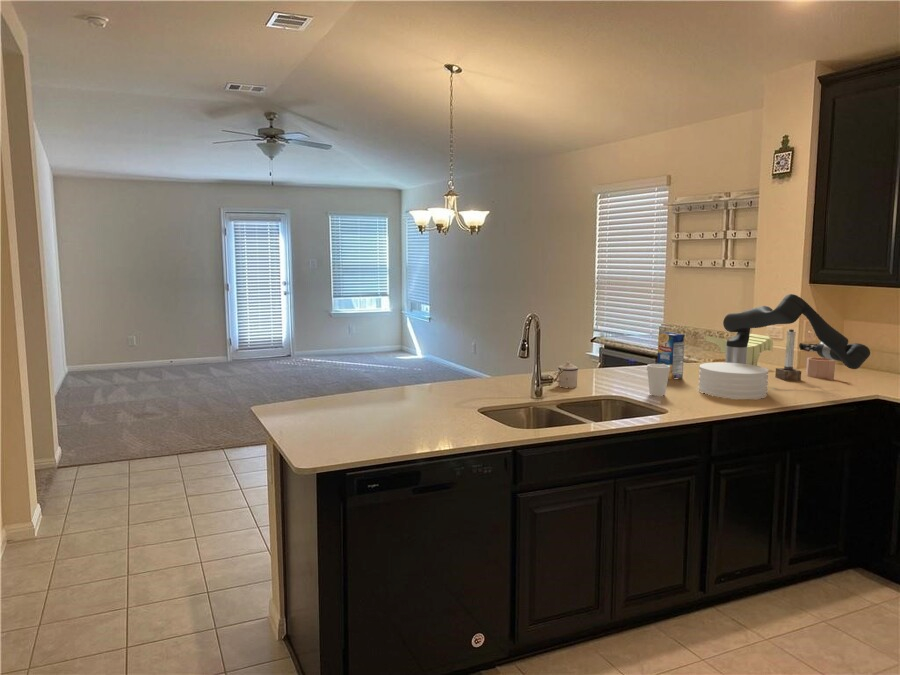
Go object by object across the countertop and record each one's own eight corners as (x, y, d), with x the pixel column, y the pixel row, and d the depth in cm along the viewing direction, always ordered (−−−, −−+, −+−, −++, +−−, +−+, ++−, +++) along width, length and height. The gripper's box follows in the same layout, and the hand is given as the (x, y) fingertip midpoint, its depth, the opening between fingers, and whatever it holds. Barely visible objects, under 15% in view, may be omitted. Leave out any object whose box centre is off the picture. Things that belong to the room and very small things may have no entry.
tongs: (783, 378, 308) (787, 329, 305) (788, 378, 308) (792, 329, 305) (787, 379, 305) (790, 329, 302) (792, 379, 305) (795, 329, 302)
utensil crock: (808, 380, 311) (810, 360, 310) (804, 376, 322) (806, 356, 320) (835, 381, 307) (836, 361, 306) (830, 377, 318) (831, 357, 316)
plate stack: (760, 388, 292) (762, 364, 291) (772, 402, 266) (774, 375, 264) (695, 385, 300) (696, 361, 299) (701, 397, 273) (702, 371, 272)
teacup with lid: (570, 383, 301) (571, 359, 299) (581, 387, 293) (582, 362, 291) (548, 385, 296) (549, 361, 295) (559, 389, 288) (559, 364, 287)
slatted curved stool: (725, 373, 329) (727, 339, 327) (704, 368, 344) (706, 335, 342) (771, 370, 338) (773, 337, 336) (748, 365, 353) (750, 333, 351)
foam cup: (665, 398, 271) (666, 368, 270) (643, 395, 276) (644, 366, 274) (670, 394, 279) (672, 365, 278) (649, 391, 284) (650, 363, 282)
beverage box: (671, 379, 312) (673, 335, 309) (656, 375, 322) (658, 332, 319) (682, 378, 314) (684, 334, 312) (667, 374, 324) (669, 332, 322)
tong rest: (784, 383, 303) (784, 371, 302) (775, 380, 311) (775, 368, 310) (800, 383, 303) (801, 371, 302) (791, 380, 311) (791, 368, 310)
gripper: (814, 359, 274) (793, 353, 290) (846, 359, 274) (824, 353, 291) (815, 341, 273) (794, 337, 289) (848, 342, 274) (825, 337, 290)
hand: (809, 345), depth 290 cm, fingers open, 8 cm apart
